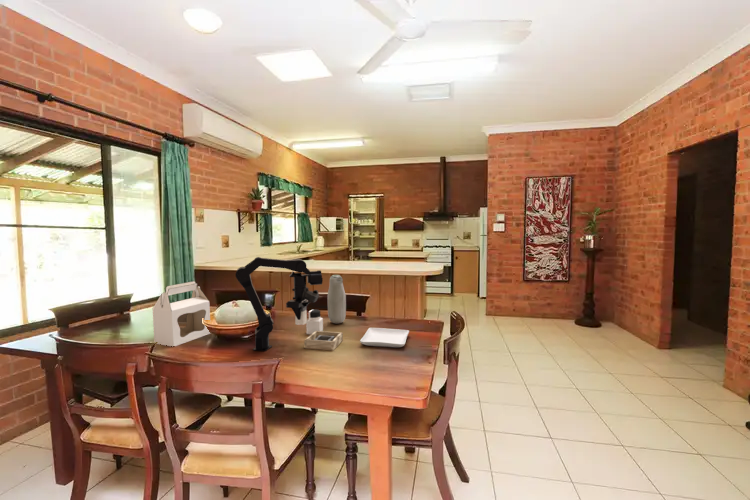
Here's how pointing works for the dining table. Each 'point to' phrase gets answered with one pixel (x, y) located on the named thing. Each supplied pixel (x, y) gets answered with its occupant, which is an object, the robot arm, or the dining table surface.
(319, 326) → the medicine bottle
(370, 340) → the salad plate
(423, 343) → the dining table surface
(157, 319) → the gable box
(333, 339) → the socket box
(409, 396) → the dining table surface
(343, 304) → the tall grey vase
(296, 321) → the grey rectangular prism
